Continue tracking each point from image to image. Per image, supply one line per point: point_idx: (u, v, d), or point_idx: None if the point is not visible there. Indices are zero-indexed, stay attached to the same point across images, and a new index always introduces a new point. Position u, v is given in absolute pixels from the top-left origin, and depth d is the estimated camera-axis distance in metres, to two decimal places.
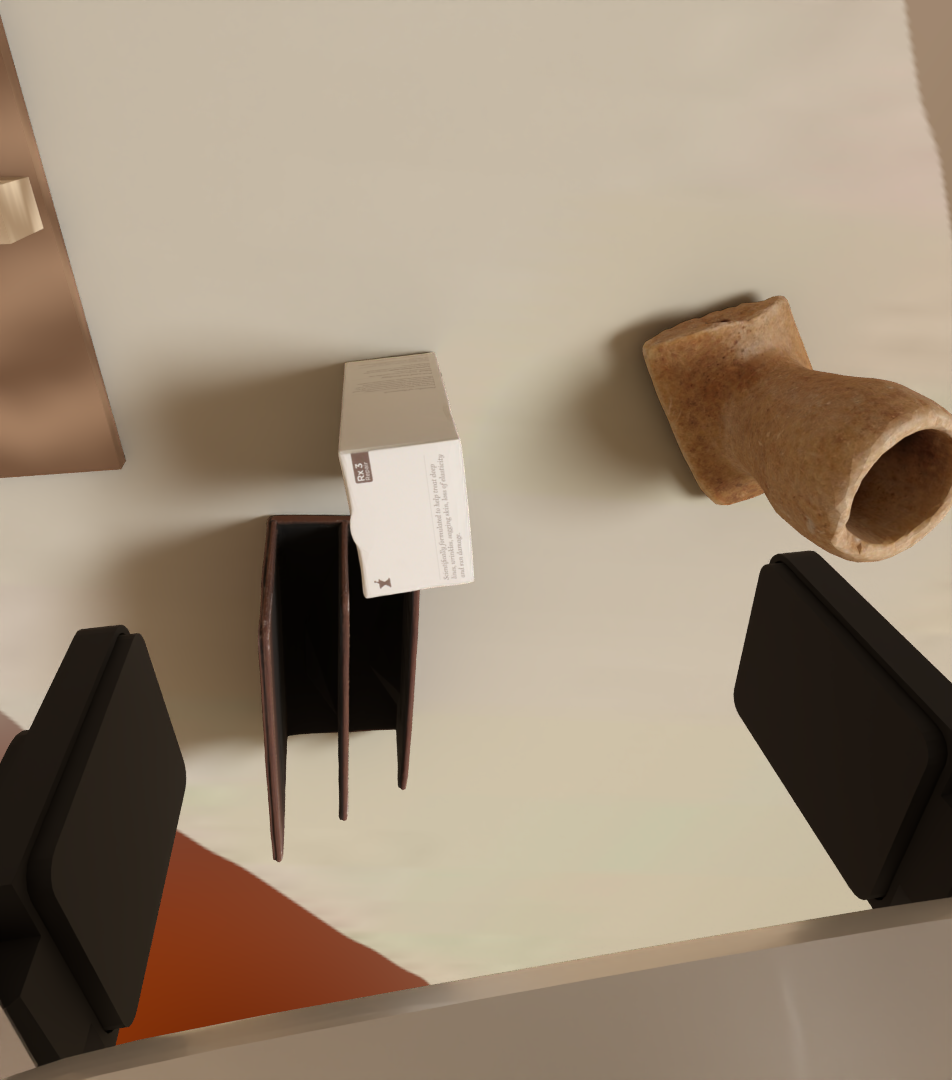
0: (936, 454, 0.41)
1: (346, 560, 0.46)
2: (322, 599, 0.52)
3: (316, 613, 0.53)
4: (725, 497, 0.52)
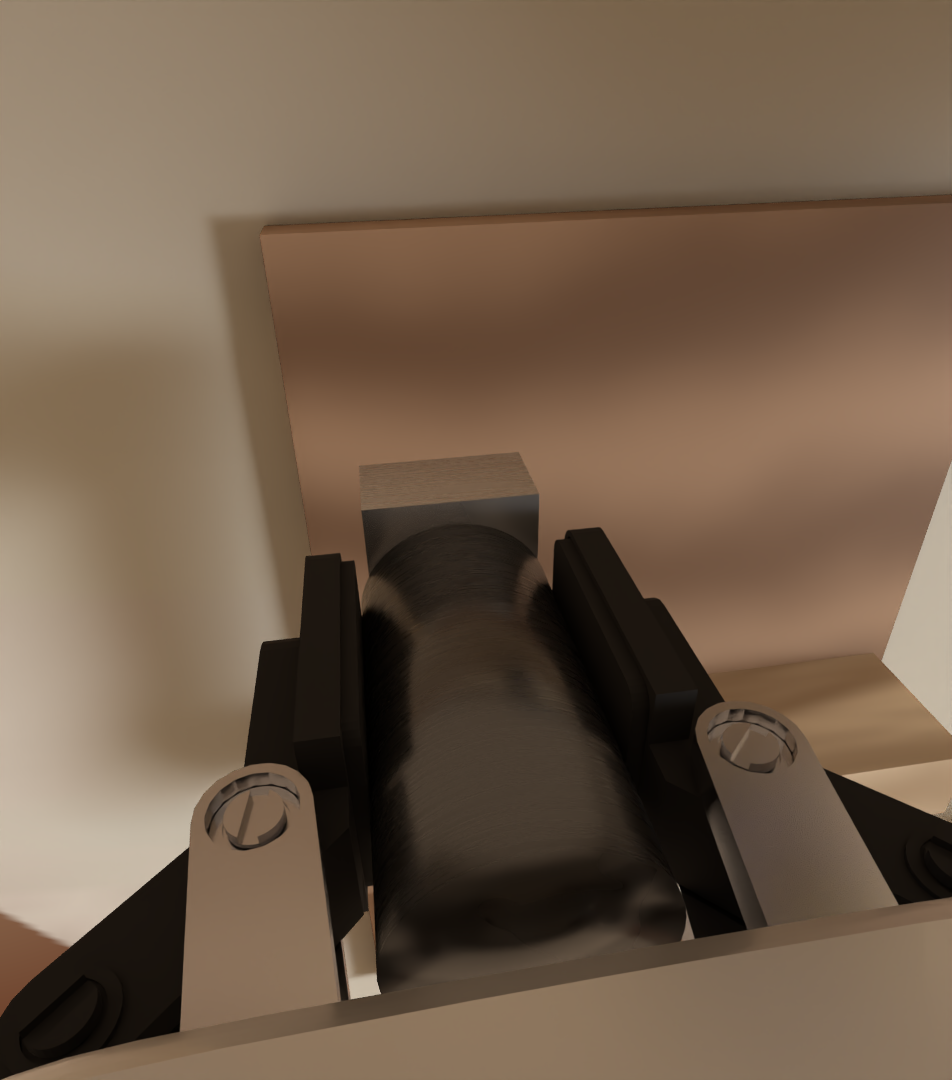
0: None
1: None
2: None
3: None
4: None
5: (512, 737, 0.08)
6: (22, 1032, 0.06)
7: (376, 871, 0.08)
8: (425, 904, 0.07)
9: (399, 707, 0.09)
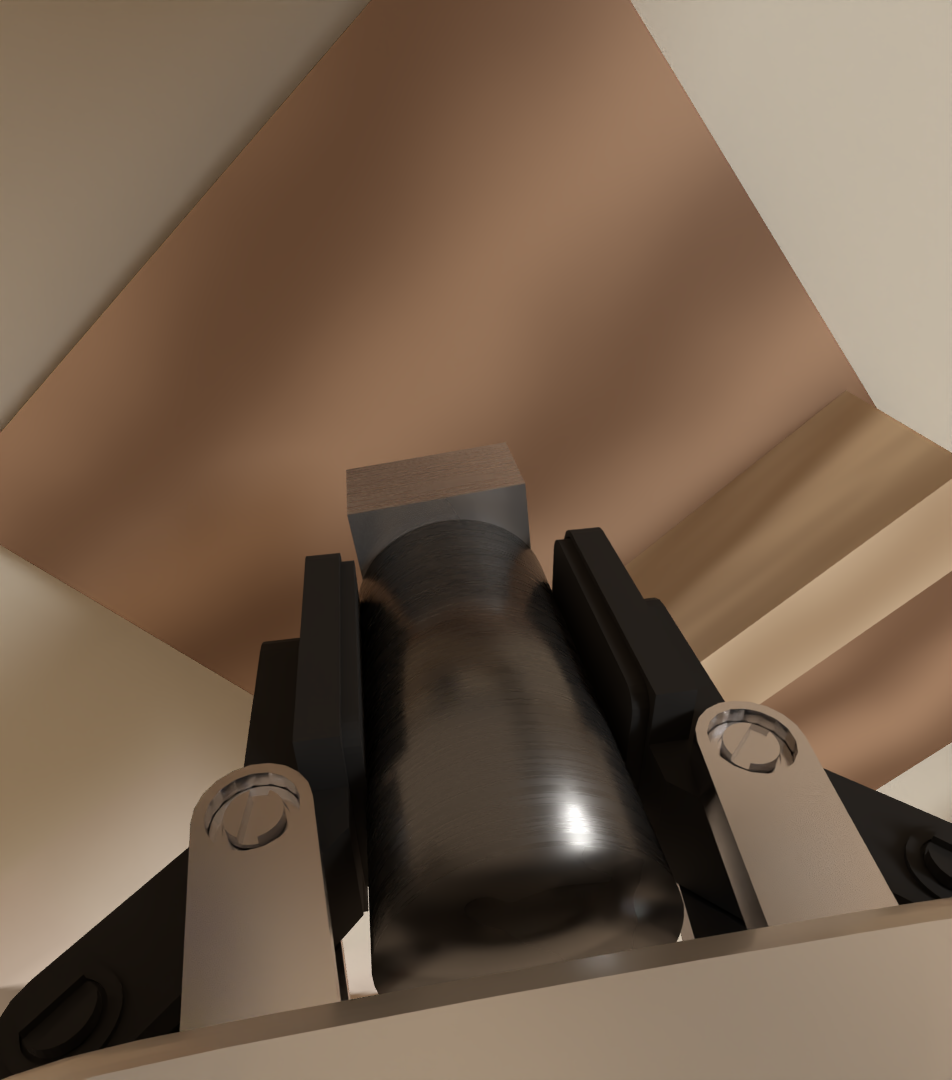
0: None
1: None
2: None
3: None
4: None
5: (493, 735, 0.08)
6: (22, 1032, 0.06)
7: (369, 876, 0.08)
8: (410, 908, 0.07)
9: (387, 711, 0.09)
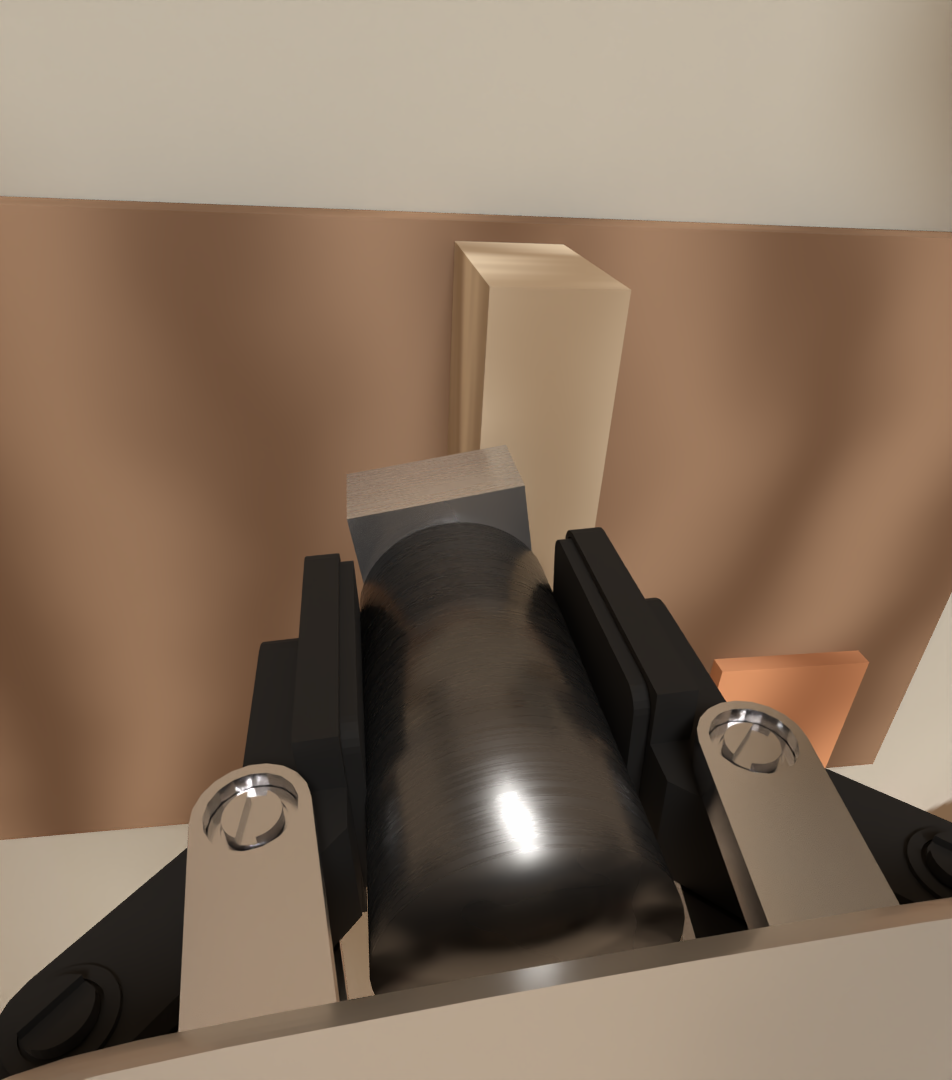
0: None
1: None
2: None
3: None
4: None
5: (491, 737, 0.08)
6: (20, 1033, 0.06)
7: (367, 881, 0.08)
8: (408, 912, 0.07)
9: (385, 714, 0.09)
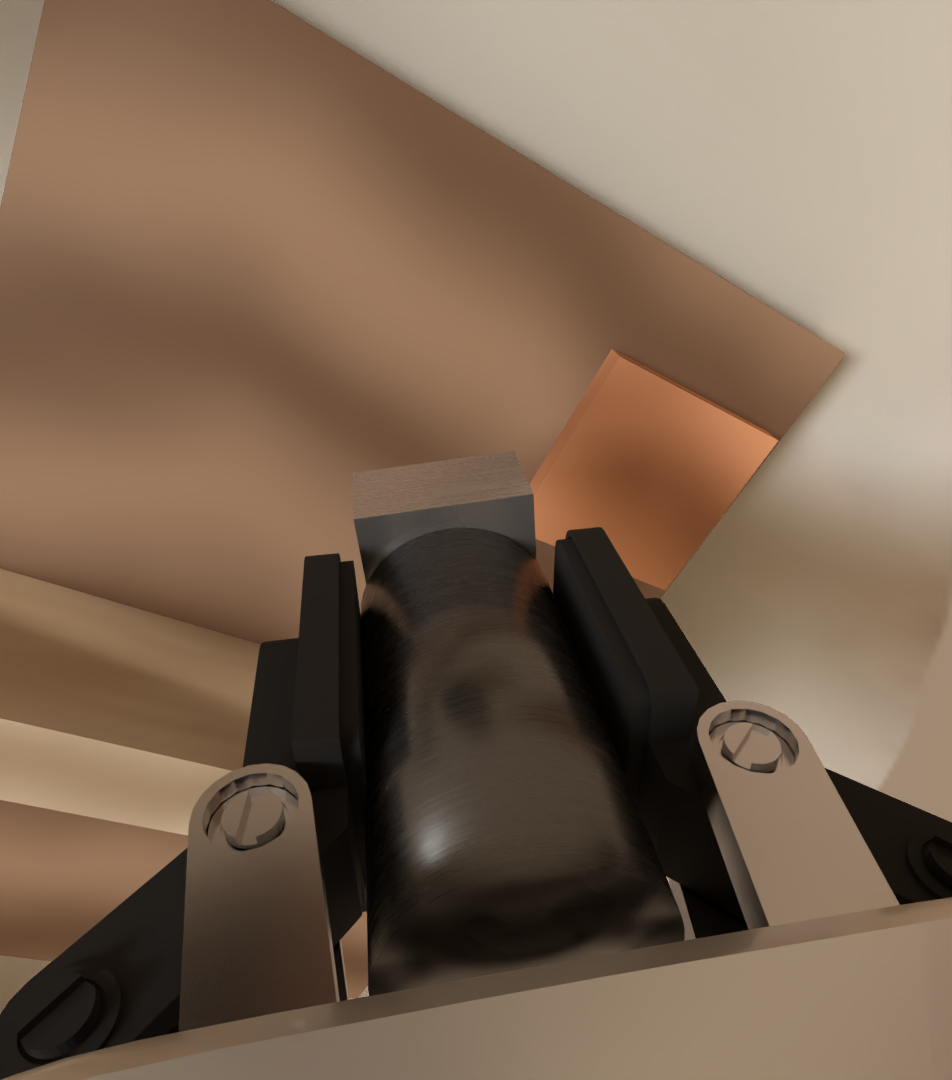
0: None
1: None
2: None
3: None
4: None
5: (499, 750, 0.08)
6: (20, 1033, 0.06)
7: (368, 889, 0.08)
8: (410, 926, 0.07)
9: (390, 720, 0.09)
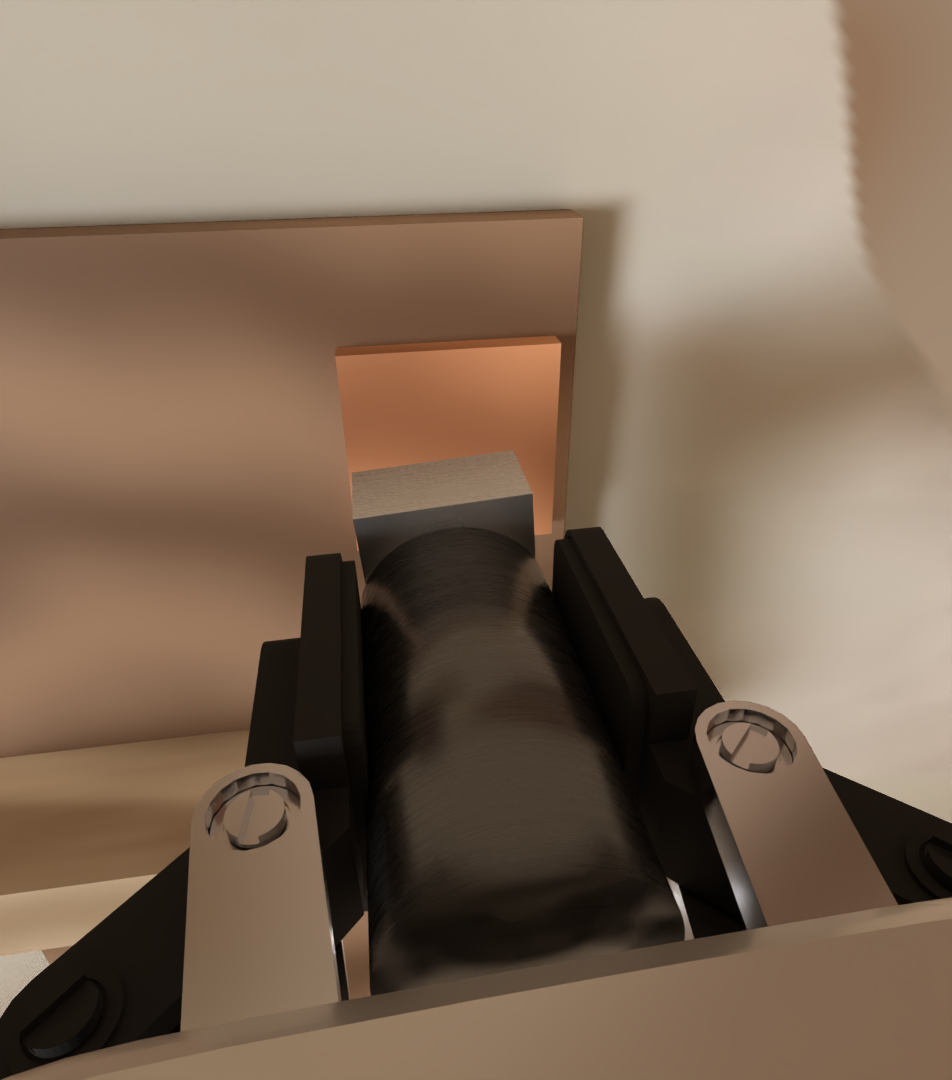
0: None
1: None
2: None
3: None
4: None
5: (499, 750, 0.08)
6: (23, 1032, 0.06)
7: (369, 889, 0.08)
8: (413, 926, 0.07)
9: (390, 721, 0.09)
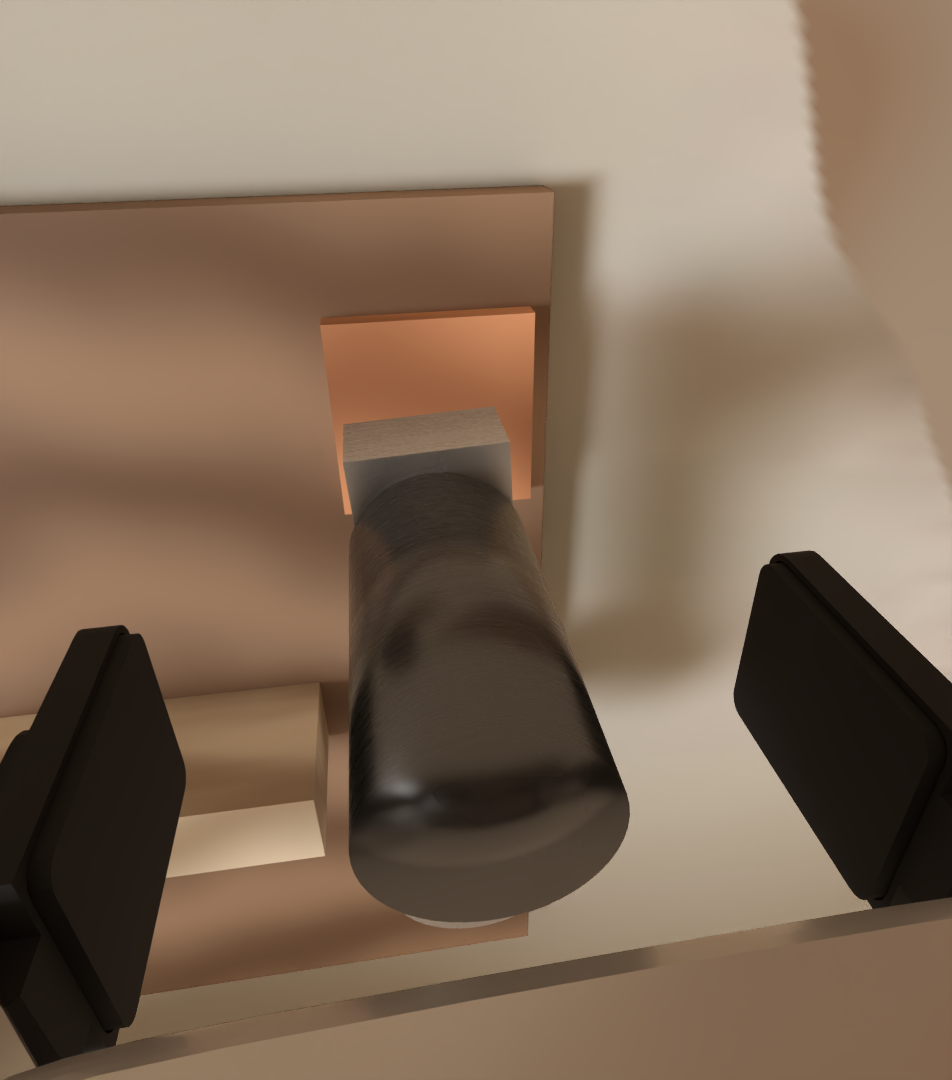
0: None
1: None
2: None
3: None
4: None
5: (468, 649, 0.09)
6: None
7: (350, 772, 0.09)
8: (387, 789, 0.08)
9: (371, 632, 0.10)
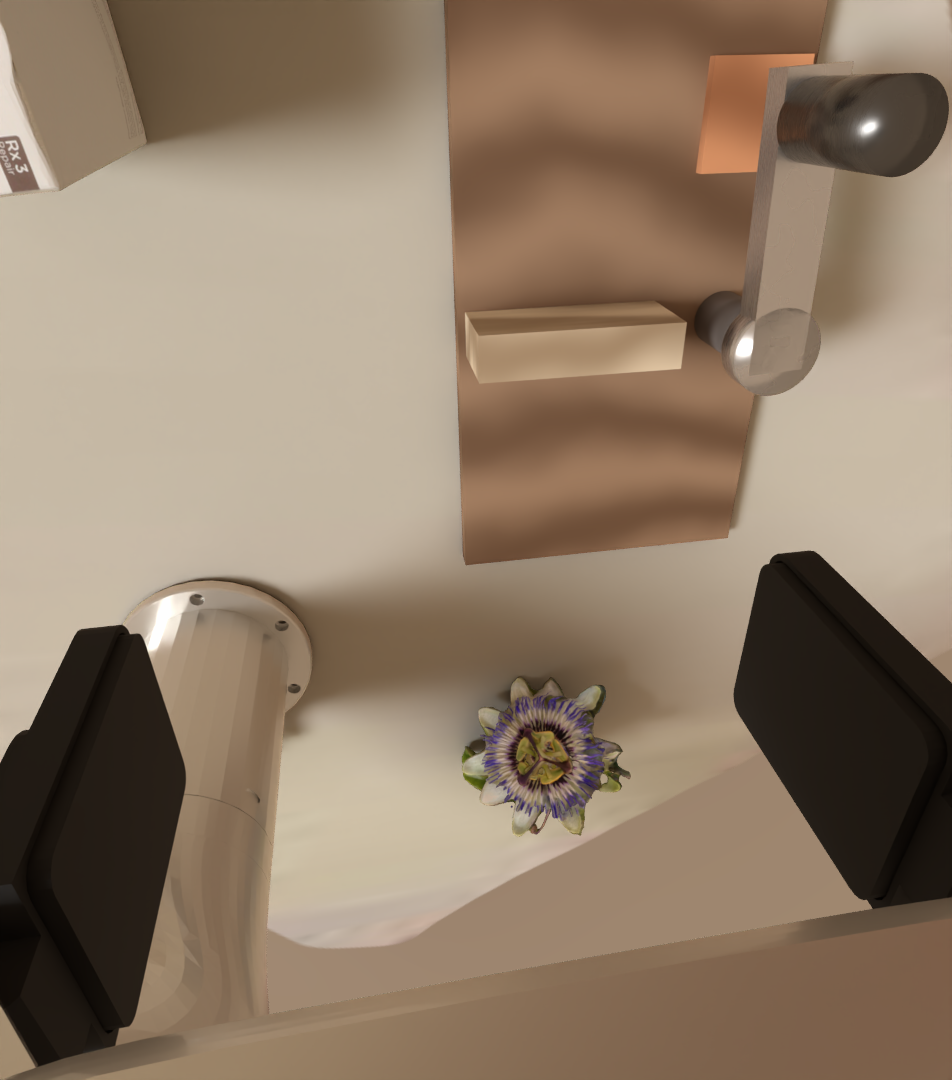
0: None
1: None
2: None
3: None
4: None
5: None
6: None
7: (852, 114, 0.26)
8: (884, 92, 0.25)
9: (839, 91, 0.27)
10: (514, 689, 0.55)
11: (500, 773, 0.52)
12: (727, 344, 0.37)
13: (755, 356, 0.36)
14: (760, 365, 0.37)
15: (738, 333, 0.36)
